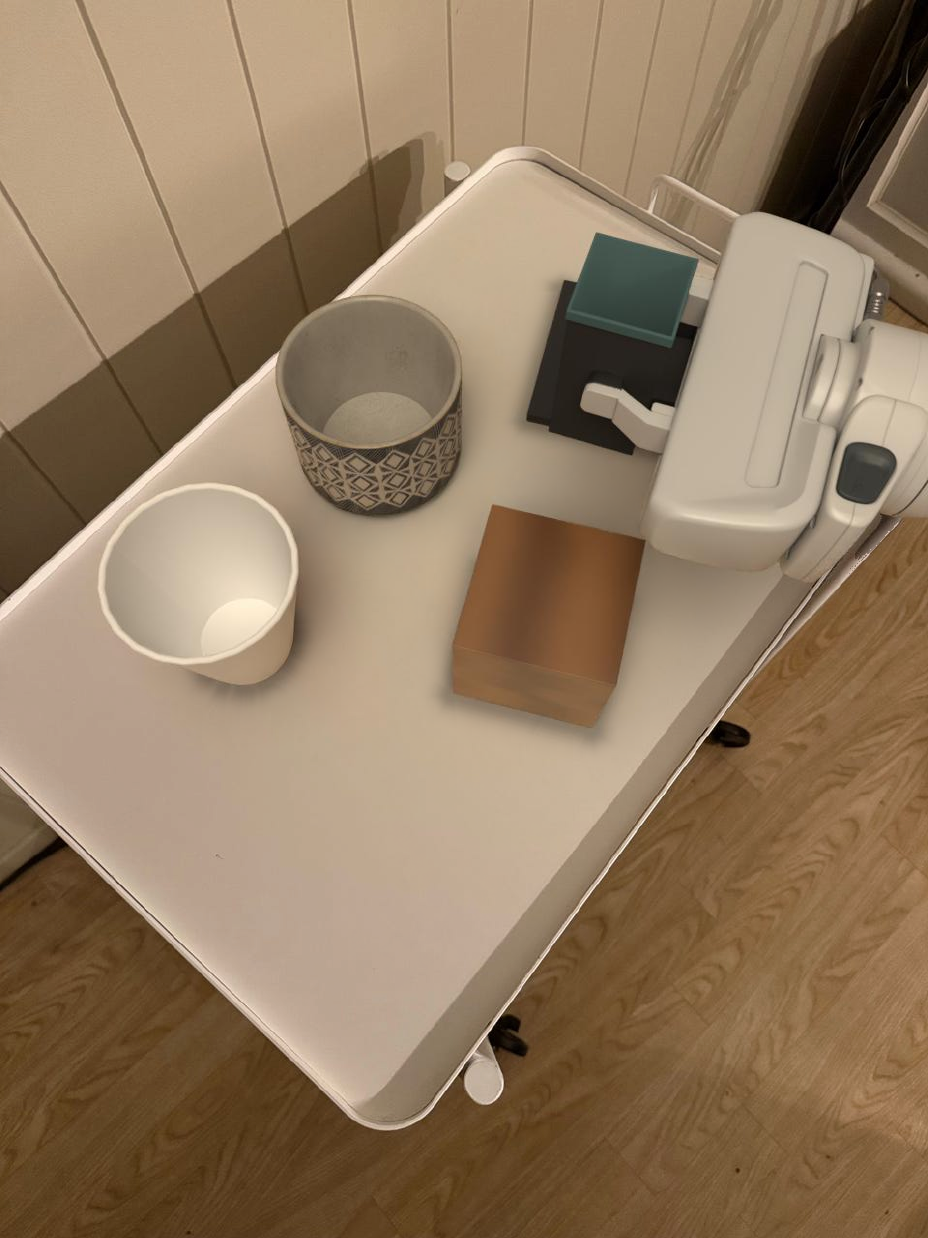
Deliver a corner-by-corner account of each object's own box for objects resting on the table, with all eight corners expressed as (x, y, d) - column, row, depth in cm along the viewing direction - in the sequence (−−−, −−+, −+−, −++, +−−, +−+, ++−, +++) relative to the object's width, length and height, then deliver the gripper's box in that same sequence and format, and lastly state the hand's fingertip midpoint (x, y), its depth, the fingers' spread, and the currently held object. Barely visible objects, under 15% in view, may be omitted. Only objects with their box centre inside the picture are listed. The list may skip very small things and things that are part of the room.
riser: (618, 600, 64) (646, 539, 55) (591, 728, 61) (615, 686, 51) (487, 568, 65) (492, 503, 56) (453, 693, 61) (452, 646, 52)
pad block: (655, 386, 51) (699, 258, 42) (633, 458, 50) (673, 340, 40) (571, 363, 52) (595, 231, 43) (545, 432, 50) (566, 310, 41)
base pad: (748, 326, 73) (759, 301, 71) (723, 465, 68) (735, 444, 66) (562, 287, 75) (566, 261, 72) (525, 420, 70) (528, 398, 67)
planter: (488, 484, 68) (494, 404, 58) (339, 548, 66) (318, 476, 56) (420, 363, 72) (414, 270, 62) (277, 420, 70) (247, 332, 60)
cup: (292, 741, 60) (253, 689, 49) (135, 692, 61) (60, 630, 50) (350, 590, 64) (327, 509, 53) (202, 547, 66) (147, 459, 54)
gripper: (923, 219, 45) (662, 154, 46) (858, 556, 38) (552, 464, 39) (869, 306, 51) (639, 245, 52) (804, 612, 43) (539, 530, 45)
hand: (601, 341), depth 46 cm, fingers closed on pad block, 5 cm apart
